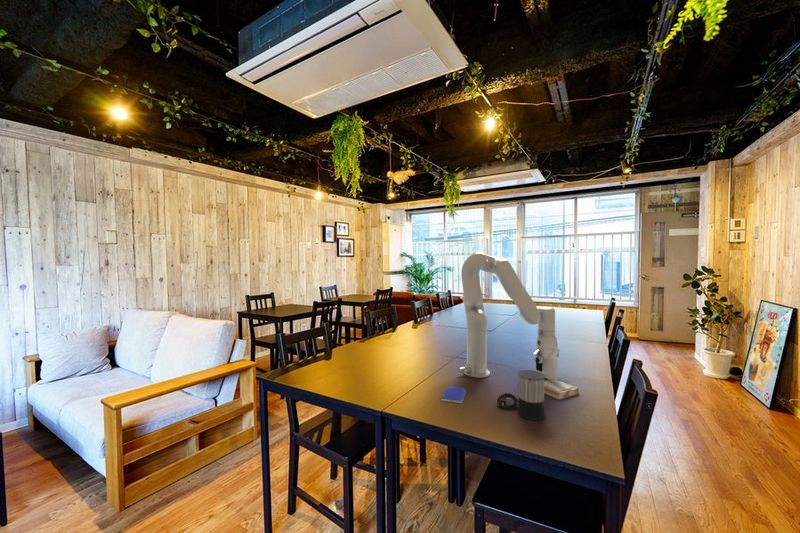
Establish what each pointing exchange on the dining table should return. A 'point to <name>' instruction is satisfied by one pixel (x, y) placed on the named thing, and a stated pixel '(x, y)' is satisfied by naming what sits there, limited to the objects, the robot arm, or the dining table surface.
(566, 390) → the pedestal
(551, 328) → the robot arm
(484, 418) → the dining table surface
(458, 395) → the hard drive
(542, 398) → the milk frother
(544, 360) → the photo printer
